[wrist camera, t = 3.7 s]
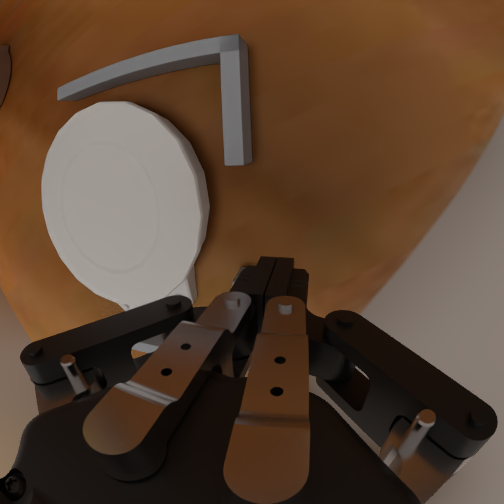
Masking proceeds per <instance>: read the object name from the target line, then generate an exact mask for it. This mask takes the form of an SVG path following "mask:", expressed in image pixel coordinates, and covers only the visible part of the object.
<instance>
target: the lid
mask: <svg viewBox="0 0 504 504" xmlns="http://www.w3.org/2000/svg"><path fill="white" fill-rule="evenodd" d="M41 184H42V209H43V213H44V217H45V221H46V225H47V229H48V233H49V236H50V238H51V240H52V242H53V244H54V246H55V248H56V250H57V252H58V254H59V256H60V258H61V260H62V261H63V262H64V263H65V265H66V266H67V267H68V269H69V270H70V271H71V272H72V274H73V275H74V276H75V277H76V279H78V280H79V281H80V282H81V283H83V284H84V285H85V286H86V287H88V288H89V289H90V290H91V291H93V292H94V293H95V294H97V295H99V296H101V297H104V298H106V299H108V300H111V301H113V302H116V303H118V304H119V305H120V306H121V307H122V308H123V309H124V310H125V311H127V310H130V309H133V308H136V307H139V306H142V305H145V304H148V303H151V302H153V301H156V300H159V299H162V298H165V297H168V296H173V295H181V296H186V297H188V298H190V299H191V301H192V304H193V303H194V301H195V300H196V299H197V289H196V280H195V271H194V263H195V261H196V259H197V257H198V255H199V253H200V251H201V246H202V244H203V242H204V240H205V238H206V231H207V224H208V216H209V209H210V204H209V198H208V191H207V185H206V179H205V173H204V170H203V168H202V166H201V164H200V162H199V160H198V158H197V156H196V154H195V152H194V150H193V148H192V146H191V143H190V142H189V141H188V140H187V139H186V138H185V137H184V136H183V135H182V133H181V132H180V131H179V130H178V129H177V128H176V127H175V126H174V125H173V124H172V123H171V122H170V121H169V120H167V119H165V118H163V117H161V116H159V115H158V114H156V113H154V112H152V111H150V110H148V109H146V108H143V107H141V106H139V105H137V104H134V103H132V102H128V101H109V102H98V103H96V104H94V105H92V106H89V107H87V108H85V109H83V110H81V111H79V112H77V113H76V114H74V115H73V117H72V118H71V119H70V120H69V121H68V122H67V123H66V124H65V125H64V126H63V127H62V128H61V129H60V130H59V131H58V133H57V135H56V137H55V139H54V141H53V143H52V145H51V147H50V149H49V151H48V153H47V156H46V160H45V165H44V170H43V176H42V181H41Z"/></svg>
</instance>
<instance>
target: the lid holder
mask: <svg viewBox="0 0 504 504" xmlns="http://www.w3.org/2000/svg"><path fill="white" fill-rule="evenodd" d="M217 63H220V64H221V93H222V117H223V139H224V159H225V166H231V165H245V164H248V163H251V162H252V142H251V117H250V92H249V69H248V45H247V44H246V43H245V41H244V40H243V39H242V38H241V37H240V35H239V34H235V35H227V36H221V37H214V38H209V39H203V40H198V41H193V42H188V43H184V44H179V45H175V46H171V47H167V48H163V49H159V50H156V51H152V52H149V53H145V54H142V55H139V56H136V57H133V58H130V59H127V60H124V61H121V62H118V63H115V64H112V65H110V66H107V67H104V68H102V69H99V70H97V71H94V72H92V73H89V74H87V75H85V76H82V77H80V78H78V79H76V80H74V81H71V82H69V83H67V84H65V85H63V86H61V87H59V88H58V91H57V101H77V100H79V99H82V98H85V97H87V96H90V95H93V94H95V93H98V92H101V91H104V90H107V89H110V88H113V87H116V86H119V85H123V84H126V83H129V82H133V81H136V80H140V79H144V78H147V77H151V76H155V75H159V74H164V73H168V72H172V71H177V70H182V69H187V68H193V67H198V66H204V65H210V64H217ZM245 268H246V267H241V268H240V270H239V271H238V273H237V275H236V277H235V278H234V280H233V285H234V283H235V281H236V279H237V278H238V277H239V274H240V273H241V271H242V270H243V269H245ZM162 343H163V337H162V334H160V335H157V336H155V337H152V338H149V339H147V340H144V341H142V342H139V343H137V344H135V345H134V346H133V347H132V349H134V350H138V351H142V352H146V353H151V352H153V351H156V349H157V348H158V347H159V346H160V345H161V344H162ZM249 368H250V366H249ZM248 371H249V369H248Z"/></svg>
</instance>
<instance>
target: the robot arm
mask: <svg viewBox="0 0 504 504" xmlns="http://www.w3.org/2000/svg"><path fill="white" fill-rule="evenodd" d="M8 49H9V46H4V45H0V106H1V104H2V102H3V99H4V97H5V94H6V91H7V87H8V83H9V78H10V72H11V59H10V55H9V53H8ZM308 281H309V274H308V273H307V272H306V270H305V269H294V258H283V257H278V259H277V257H265V256H261V257H260V259H259V261H258V264H257V266H248V267H246V268H245V269H243V270H242V271H241V273H240V274H239V277H238V278H237V279H236V281H235V283H234V285H233V286H232V288H231V290H230V291H229V292H225V293H222V294H220V295H218V296H217V297H215V299H214V300H213V301H212V302H211V303H210V305H209V306H207V307H194V308H193V307H192V301H191V299H190V298H188V297H186V296H181V295H173V296H168V297H165V298H162V299H159V300H156V301H153V302H151V303H148V304H145V305H142V306H139V307H136V308H133V309H130V310H127V311H125V312H122V313H119V314H116V315H113V316H110V317H107V318H104V319H101V320H98V321H95V322H92V323H89V324H86V325H83V326H80V327H77V328H75V329H72V330H69V331H66V332H63V333H60V334H57V335H54V336H50V337H47V338H44V339H41V340H38V341H35V342H33V343H31V344H29V345H28V346H26V347H25V348H24V350H23V351H22V353H21V355H20V359H21V362H22V364H23V365H24V367H25V369H26V371H27V372H28V374H29V376H30V379H31V381H32V383H33V384H34V386H35V391H36V398H37V405H38V411H39V415H37V416H36V417H35V418H33V419H32V420H31V421H30V422H29V423H28V425H27V426H26V428H25V429H24V431H23V434H22V437H21V441H20V446H19V450H18V454H17V457H16V460H15V462H14V464H13V466H12V469H11V470H10V472H9V473H8V474H7V475H6V476H5V477H3V478H1V479H0V504H425V503H426V502H427V501H428V500H429V499H430V498H431V497H432V496H433V495H434V494H435V493H436V492H437V491H438V489H440V487H441V486H442V485H443V484H444V483H445V482H447V481H448V480H449V479H450V478H451V477H452V476H453V475H454V474H456V473H457V472H458V471H459V470H460V469H461V468H462V467H463V466H464V465H465V464H466V463H467V462H468V461H469V460H470V459H471V458H472V457H473V456H474V455H475V454H476V453H477V452H478V451H479V450H480V448H481V447H482V446H483V445H484V444H485V443H486V442H487V441H488V440H489V438H490V437H491V436H492V435H493V434H494V432H495V431H496V428H497V423H498V421H497V416H496V413H495V411H494V410H493V409H492V408H491V406H489V405H488V404H487V403H485V402H484V401H483V400H481V399H480V398H478V397H477V396H476V395H474V394H473V393H471V392H470V391H469V390H467V389H466V388H464V387H462V386H461V385H460V384H458V383H457V382H456V381H454V380H453V379H451V378H450V377H448V376H447V375H446V374H444V373H443V372H441V371H440V370H439V369H437V368H436V367H434V366H433V365H431V364H430V363H428V362H427V361H426V360H424V359H422V358H421V357H420V356H419V355H417V354H416V353H414V352H413V351H411V350H410V349H408V348H407V347H405V346H404V345H402V344H401V343H400V342H398V341H397V340H395V339H394V338H393V337H391V336H390V335H388V334H387V333H385V332H384V331H382V330H381V329H379V328H378V327H376V326H375V325H374V324H372V323H371V322H369V321H368V320H366V319H365V318H363V317H362V316H361V315H359V314H357V313H355V312H352V311H347V310H338V311H333V312H331V313H329V314H328V315H327V316H326V317H325V318H321V317H318V316H316V315H314V314H312V313H311V312H309V311H308V309H307V295H308ZM160 334H162V337H163V343H162V344H161V345H160V346H159V347H158V348H157V349H156V351H153V352H151V353H148V354H146V355H143V356H141V357H138V358H135V359H133V358H132V355H131V349H132V347H133V346H134V345H135V344H137V343H139V342H142V341H144V340H147V339H149V338H152V337H155V336H157V335H160ZM249 366H250V368H249ZM355 366H357V367H358V368H359V369H361V370H362V371H363V372H364V373H365V374H366V375H367V376H368V378H369V379H367V378H366V377H365V376H364V375H363V374H362V373H361V372H359V371H358V370H357V369H356V368H355ZM94 367H95V368H94ZM248 369H249V373H248V377H245V375H246V373H247V371H248ZM309 374H310V375H312V376H316V382H317V384H318V386H319V387H320V388H321V389H322V390H323V391H324V392H325V393H326V394H327V395H328V396H329V397H330V398H331V399H332V400H333V401H334V402H335V403H336V404H337V405H338V406H339V407H340V408H341V409H342V410H343V411H344V412H345V413H346V414H347V415H348V416H349V417H350V418H351V419H352V420H353V421H354V422H355V423H356V424H357V425H358V426H359V427H360V428H361V429H362V430H363V431H364V432H365V433H366V434H367V435H368V436H369V437H370V438H371V439H372V440H373V441H374V442H375V443H376V444H377V445H378V446H379V447H380V451H379V457H378V456H377V454H376V453H375V452H374V451H373V450H372V449H371V448H370V447H369V446H368V445H367V444H366V443H365V442H364V441H363V440H362V438H360V437H359V435H358V434H357V433H356V432H355V431H354V430H353V429H352V428H351V427H350V425H349V424H348V423H347V422H346V421H345V420H344V419H343V418H342V417H341V416H340V414H339V413H338V412H337V411H336V410H335V409H334V408H333V407H332V406H331V405H330V404H329V403H328V402H326V401H325V400H324V399H322V398H321V397H319V396H317V395H315V394H313V393H311V392H309Z"/></svg>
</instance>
